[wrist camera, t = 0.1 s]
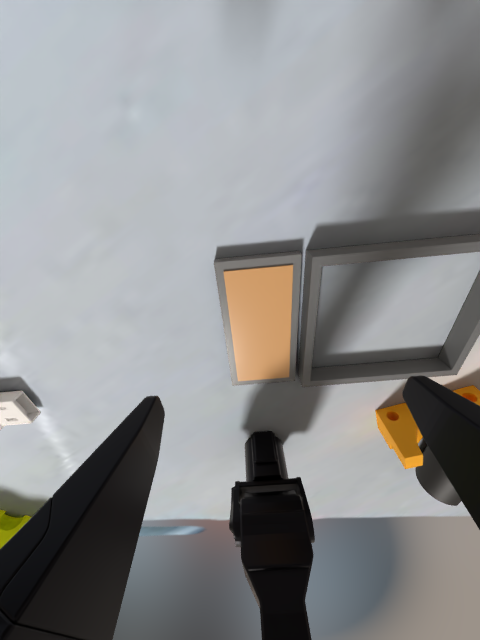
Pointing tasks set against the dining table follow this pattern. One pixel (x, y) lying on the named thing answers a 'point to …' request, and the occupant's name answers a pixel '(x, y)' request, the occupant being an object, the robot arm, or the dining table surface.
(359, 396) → the dining table surface
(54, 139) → the dining table surface
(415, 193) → the dining table surface
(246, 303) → the lid
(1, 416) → the charging cable
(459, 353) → the gray rectangular frame
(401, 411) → the pipe clamp
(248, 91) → the dining table surface
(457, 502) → the end cap
